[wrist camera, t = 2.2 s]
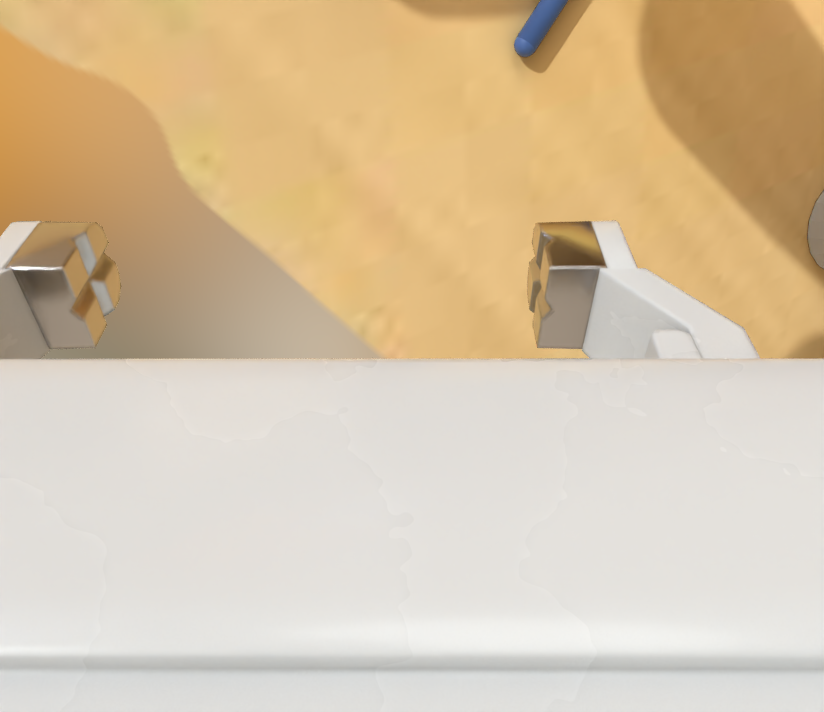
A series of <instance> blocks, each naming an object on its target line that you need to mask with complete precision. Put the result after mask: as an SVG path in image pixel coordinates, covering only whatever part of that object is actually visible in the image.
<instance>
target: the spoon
mask: <svg viewBox="0 0 824 712" xmlns="http://www.w3.org/2000/svg"><path fill="white" fill-rule="evenodd" d="M567 2H568V0H540V2H539V3H538V5H537V7H536V8H535V10H534V11H533V13H532V14H531V16H530V17H529V19H528V20H527V22H526V24H525V25H524V27H523V28H522V30H521V31H520V33H519V34H518V36H517V38H516V40H515V43H514V48H515V51H516V52H517V54H518V55H520V56H522V57H528V56H530V55H532V54H533V53H534V52H535V51H536V49H537V48H538V46H539V44H540V43H541V41H542V40H543V38H544V37H545V35H546V34H547V32H548V31H549V29H550V28H551V26H552V25H553V23H554V21H555V20H556V18H557V17H558V15H559V14H560V12H561V11H562V9H563V8H564V6H565V5H566V3H567Z"/></svg>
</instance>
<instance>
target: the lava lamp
mask: <svg viewBox="0 0 824 712" xmlns="http://www.w3.org/2000/svg"><path fill="white" fill-rule="evenodd" d="M807 238H808V243H809V248H810V253H811V255H812V256H813V258H814V259H815V261H816V263H817V264H818V265H819V266H820V267H822V268H823V269H824V191H823V192H822V194H821V195H820V197H819V198H818V200H817V201H816V203H815V206H814V208H813V211H812V214H811V217H810V219H809V227H808V237H807Z"/></svg>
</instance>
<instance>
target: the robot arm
mask: <svg viewBox="0 0 824 712" xmlns="http://www.w3.org/2000/svg"><path fill="white" fill-rule="evenodd" d="M108 243H109V242H108V240H107V237H106V235H105V232H104V230H103V227H101V226H100V225H99V224H98V223H96V222H47V221H46V222H42V221H21V222H20V221H19V222H14V223H11V224H10V226H9V227H8V228H7V229H6V230H5V232H4V233H3V234H2V236H1V237H0V712H824V358H818V359H760V357H759V355H758V353H757V351H756V349H755V348H754V346H753V344H752V342H751V340H750V338H749V336H748V335H747V333H746V331H745V329H744V328H743V327H741V326H740V325H738V324H736V323H735V322H733V321H731V320H730V319H728V318H726V317H725V316H723V315H721V314H720V313H718V312H716V311H715V310H713V309H712V308H710V307H708V306H707V305H705V304H703V303H702V302H700V301H698V300H697V299H695V298H693V297H692V296H690V295H688V294H687V293H685V292H684V291H682V290H680V289H679V288H677V287H675V286H674V285H672V284H670V283H669V282H667V281H665V280H664V279H662V278H660V277H659V276H657V275H656V274H654V273H652V272H651V271H649V270H647V269H646V268H638V267H637V265H636V262H635V260H634V258H633V255H632V253H631V250H630V248H629V246H628V243H627V241H626V239H625V236H624V234H623V231H622V229H621V227H620V224H619V222H617V221H615V220H612V221H585V222H546V223H536V224H535V227H534V231H533V238H532V245H533V250H534V255H535V257H534V258H533V259H532V260H531V261H530V262H529V269H528V280H527V295H528V303H529V309H530V310H531V311H532V312H533V313H534V318H533V329H534V334H535V339H536V344H537V348H565V349H582V351H583V352H584V353H585V354H586V355H587V356H588V357H589V358H590V359H41V358H42V357H43V356H45V355H46V354H47V353H48V352H50V349H74V348H95V347H96V345H97V344H98V341H99V339H100V338H101V336H102V334H103V332H104V330H105V328H106V326H107V324H106V321H105V318H104V316H106V315H107V314H109V313H110V312H112V311H113V310H115V308H116V306H117V304H118V302H119V298H120V289H121V283H120V277H119V272H118V269H117V266H116V263H115V262H114V261H113V260H112V259H111V258H110V257H108V256H107V255H106V254H105V253H104V251H105V249H106V247H107V245H108Z"/></svg>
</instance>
